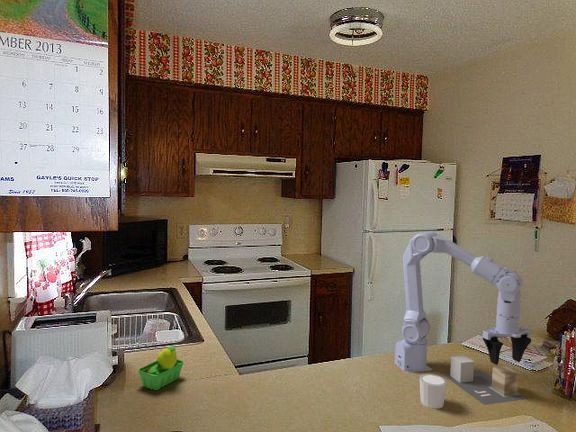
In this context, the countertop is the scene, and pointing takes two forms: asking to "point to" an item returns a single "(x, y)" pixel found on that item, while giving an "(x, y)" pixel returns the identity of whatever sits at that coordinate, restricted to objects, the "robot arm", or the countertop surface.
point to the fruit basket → (161, 370)
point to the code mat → (484, 389)
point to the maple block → (505, 380)
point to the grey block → (462, 369)
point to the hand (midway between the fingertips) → (505, 361)
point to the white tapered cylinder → (432, 390)
